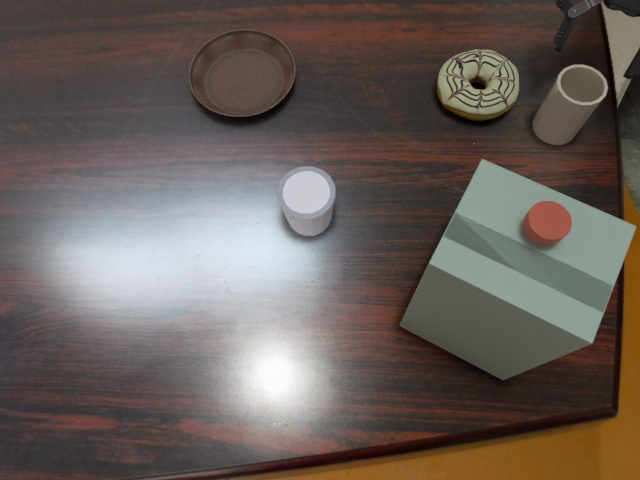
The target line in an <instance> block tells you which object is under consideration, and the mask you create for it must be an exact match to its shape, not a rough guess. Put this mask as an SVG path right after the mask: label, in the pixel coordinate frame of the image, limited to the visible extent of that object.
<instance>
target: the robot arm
mask: <svg viewBox="0 0 640 480" xmlns="http://www.w3.org/2000/svg"><path fill="white" fill-rule="evenodd" d="M601 3H603V5H604V6H605V7H606V9H609V10H610V11H615V12H616V11H618V12H621V13H623V14H624V15H626V16H627V17H630V18H640V0H581V1H580V2H578V3H577V4H574V3H573V2H572V1H571V0H555V6H556V7H557V8H558V9H559V10H560V11H561V12H562V13H563V14H564V15H563V16H564V18H563V20H562V22H561V24H560V26H559V28H558V30H557V32H556V34H555V36H554V38H553V41H552V43H553V45H556V47H555V48H554V51H556V52H559V53H561V52H562V50H563V48H564V46H565V44H566V42H567V40H568V38H569V37H570V35H571V33H572V31H573V29H574V27H575V25H576V23H577V21H578V20H577V18H578V16H580V15H582V14H584V13H586V12H587V11H590V9H592V8H595V6H597V5H599V4H601ZM634 76H635V77H639V76H640V47H638V50H637V51H636V53H635V54H634V57H633V58H632V60H631V62H630V63H629V64H628V67H627V68H626V70H625V72H624V73H623V76H622V77H623V78H625V79H628V80H632V79H633V77H634Z"/></svg>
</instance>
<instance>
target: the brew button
mask: <svg viewBox="0 0 640 480" xmlns="http://www.w3.org/2000/svg"><path fill="white" fill-rule="evenodd" d="M523 225H524V230H525V232H526V234H527V235H528V237H529V238H530V239H532V240H533V241H534V242H536V243H538V244H541V245H554V244H556V243H558V242H560V241H561V240H562V239H563V238H564V237H565V236H566V235H567V234H568V233H569V232H570V230H571V227H572V219H571V216H570V214H569V212H568V211H567V210H566V209H565V208H564V207H563V206H562V205H560V204H559V203H556V202H553V201H541V202H538V203H536V204H535V205H534V206H533V207H532V208H531V209H530V210H529V211H528V213H527V214H526V216H525V218H524V222H523Z"/></svg>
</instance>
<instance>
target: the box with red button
mask: <svg viewBox="0 0 640 480" xmlns="http://www.w3.org/2000/svg"><path fill="white" fill-rule="evenodd" d="M541 201H553V202H556V203H559V204H560V205H562V206H563V207H564V208H565V209H566V210H567V211H568V212H569V214H570V216H571V219H572V227H571V230H570V232H569V233H568V234H567V235H566V236H565V237H564V238H563V239H562V240H561V241H560V242H558V243H556V244H554V245H541V244H538V243H536V242H534V241H533V240H532V239H530V238H529V237H528V235H527V234H526V232H525V230H524V225H523V222H524V218H525V216H526V214H527V213H528V211H529V210H530V209H531V208H532V207H533V206H534V205H535V204H536V203H538V202H541ZM637 228H638V227H637V225H635V224H632V223H630V222H628V221H626V220H623V219H621V218H619V217H616V216H614V215H612V214H610V213H607V212H605V211H603V210H602V209H601V210H600V209H598V208H596V207H594V206H592V205H590V204H587V203H584V202H582V201H579V200H578V199H576V198H573V197H571V196H568V195H566V194H564V193H562V192H559V191H558V190H555V189H552V188H550V187H548V186H547V185H546V186H545V185H543V184H541V183H539V182H537V181H535V180H532V179H530V178H528V177H525V176H523V175H520V174H518V173H516V172H514V171H512V170H509V169H507V168H505V167H502V166H500V165H497V164H496V163H493V162H491V161H489V160H486V159H484V158H481V160H480V162H479V164H478V165H477V167H476V170H475V171H474V173H473V175H472V177H471V179H470V181H469V183H468V185H467V187H466V189H465V191H464V193H463V195H462V197H461V199H460V201H459V203H458V205H457V207H456V208H455V211H454V212H453V215H452V217H451V218H450V220H449V222H448V224H447V226H446V229H445V230H444V232H443V234H442V236H441V238H440V239H439V242H438V244H437V246H436V248H435V250H434V251H433V254H432V256H431V258H430V260H429V262H428V264H427V266H426V268H425V270H424V272H423V274H422V276H421V278H420V280H419V282H418V285H417V288H416V289H415V291H414V293H413V296H412V297H411V299H410V302H409V304H408V306H407V308H406V310H405V312H404V314H403V316H402V318H401V321H400V323H399V327H400V328H403V329H404V330H406V331H408V332H410V333H411V334H413V335H415V336H418V337H419V338H421V339H423V340H425V341H427V342H429V343H431V344H433V345H435V346H436V347H439V348H440V349H443V350H444V351H446V352H447V353H450V354H452V355H454V356H456V357H458V358H459V359H461V360H464V361H465V362H467V363H469V364H471V365H473V366H474V367H477V368H479V369H480V370H482V371H484V372H486V373H488V374H490V375H492V376H494V377H496V378H498V379H500V380H501V381H505V380H508V379H510V378H512V377H515V376H517V375H520V374H522V373H524V372H527V371H529V370H531V369H534V368H536V367H540V366H542V365H544V364H546V363H549V362H552V361H553V360H556V359H558V358H561V357H563V356H566V355H568V354H570V353H573V352H576V351H578V350H580V349H583V348H585V347H587V346H590V345H593V344H594V341H595V338H596V335H597V332H598V330H599V327H600V325H601V322H602V319H603V317H604V315H605V312H606V309H607V306H608V304H609V301H610V298H611V296H612V293H613V291H614V288H615V285H616V282H617V280H618V278H619V275H620V272H621V270H622V267H623V264H624V261H625V259H626V256H627V253H628V251H629V248H630V245H631V243H632V240H633V238H634V235H635V233H636V229H637Z"/></svg>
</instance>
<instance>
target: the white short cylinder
mask: <svg viewBox="0 0 640 480" xmlns="http://www.w3.org/2000/svg"><path fill="white" fill-rule="evenodd" d="M276 189H277V190H276V191H277V192H276V193H277V195H276V198H277V201H278V203H279V205H280V207H281V210H282V212H283V214H284V216H285V218H286V220H287V222H288V224H289V226H290V229H292V230H293V231H294V232H295V233H296V234H298V235H301V236H304V237H316V236H317V235H320V234H323V232H324V231H326V229H328V228H329V226H330V223H331V222H332V218H333V213H334V212H333V211H334V207H335V201H336V185H335V182H334V181H333V179H332V177H331V176H330V175H329V174H328V173H327V172H326V171H324V170H323V169H321V168H318V167H315V166H313V165H310V166H306V165H305V166H298V167H296V168H293V169H291V170H289V171H288V172H287V173H286V174H285V175H283V177H281V180H280V182H279V184H278V186H277V188H276Z"/></svg>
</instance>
